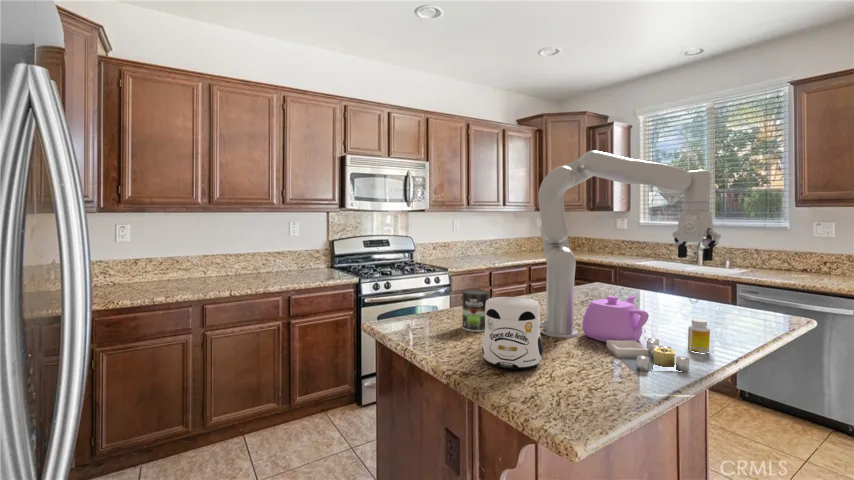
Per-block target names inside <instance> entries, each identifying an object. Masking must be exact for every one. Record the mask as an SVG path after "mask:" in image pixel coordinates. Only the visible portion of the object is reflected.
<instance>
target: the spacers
mask: <svg viewBox="0 0 854 480" xmlns="http://www.w3.org/2000/svg"><path fill="white" fill-rule="evenodd" d="M646 348H647V349H648V350H649V354H651V359H654V349H655V348H668V349H671V350H672V347H671V346H668V345H660V340H659V339H658V338H655V337H648V339H647V340H646ZM675 362H676V370H678V371H682V372H688V371H689V372H690V358H689V357H686V356H675ZM636 369H637V370H638V371H637V372H643V373H648V371H649V357H646V356H637V364H636ZM682 372H681V373H682Z"/></svg>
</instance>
